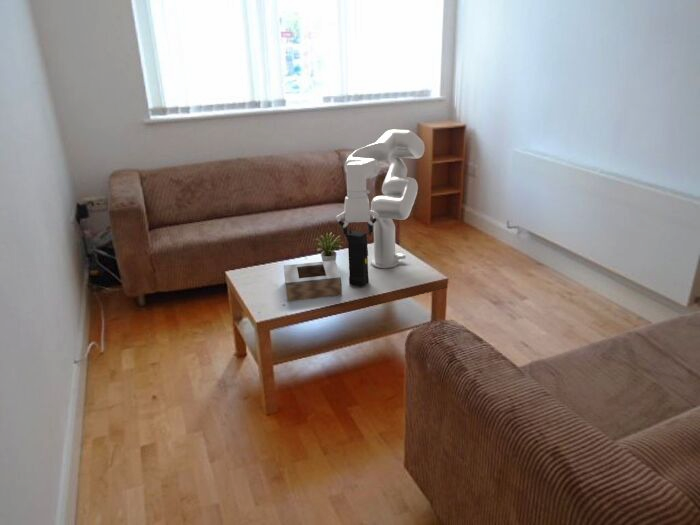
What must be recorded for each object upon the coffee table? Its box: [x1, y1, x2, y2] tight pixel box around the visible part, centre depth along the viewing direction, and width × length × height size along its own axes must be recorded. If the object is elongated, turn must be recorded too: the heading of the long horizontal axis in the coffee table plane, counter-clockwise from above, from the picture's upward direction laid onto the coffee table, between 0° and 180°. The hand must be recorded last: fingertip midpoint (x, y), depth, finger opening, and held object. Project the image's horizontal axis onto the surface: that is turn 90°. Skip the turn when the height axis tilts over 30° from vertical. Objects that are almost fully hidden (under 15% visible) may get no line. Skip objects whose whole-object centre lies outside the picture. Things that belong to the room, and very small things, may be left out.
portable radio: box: [346, 226, 370, 288], centre depth 214 cm, size 8×6×25 cm
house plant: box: [314, 231, 346, 263], centre depth 233 cm, size 14×14×16 cm
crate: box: [283, 260, 343, 302], centre depth 214 cm, size 22×18×8 cm
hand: (357, 235), depth 210 cm, fingers open, 9 cm apart
